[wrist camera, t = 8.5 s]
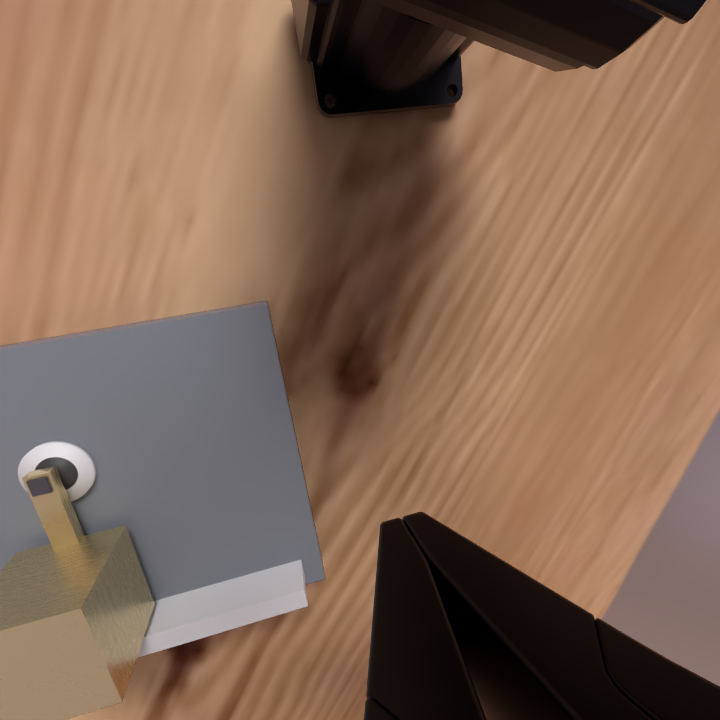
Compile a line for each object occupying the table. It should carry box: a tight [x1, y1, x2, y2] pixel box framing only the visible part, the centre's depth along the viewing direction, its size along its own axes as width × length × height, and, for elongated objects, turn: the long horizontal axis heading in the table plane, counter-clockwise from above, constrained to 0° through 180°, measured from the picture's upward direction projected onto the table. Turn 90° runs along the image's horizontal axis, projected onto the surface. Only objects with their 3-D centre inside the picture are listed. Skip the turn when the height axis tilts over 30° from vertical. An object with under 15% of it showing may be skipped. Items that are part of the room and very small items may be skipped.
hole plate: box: [0, 301, 325, 658], centre depth 16 cm, size 23×15×6 cm, turn 99°
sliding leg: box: [0, 466, 155, 720], centre depth 15 cm, size 4×8×4 cm, turn 9°
